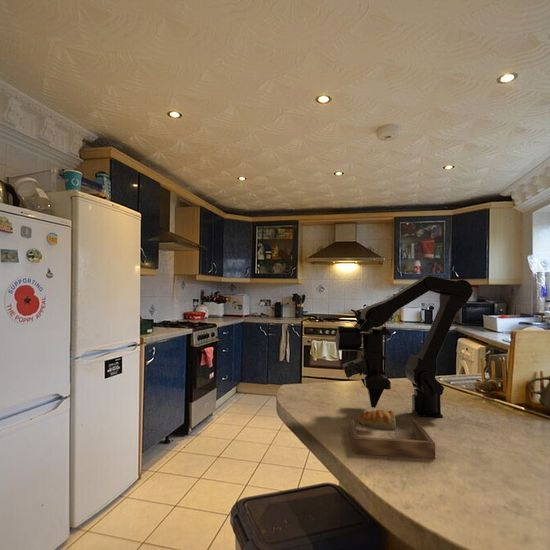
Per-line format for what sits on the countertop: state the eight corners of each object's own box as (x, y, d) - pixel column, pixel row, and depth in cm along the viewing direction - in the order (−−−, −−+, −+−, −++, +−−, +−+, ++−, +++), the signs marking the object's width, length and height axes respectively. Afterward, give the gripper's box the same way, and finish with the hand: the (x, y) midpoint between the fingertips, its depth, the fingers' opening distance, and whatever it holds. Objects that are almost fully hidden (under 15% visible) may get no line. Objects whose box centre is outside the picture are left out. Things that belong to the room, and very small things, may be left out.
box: (416, 432, 85) (416, 420, 85) (435, 458, 72) (435, 443, 72) (348, 429, 87) (348, 416, 87) (354, 453, 74) (354, 438, 74)
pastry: (358, 428, 88) (358, 412, 89) (357, 419, 95) (356, 404, 95) (397, 431, 87) (397, 415, 87) (393, 421, 93) (393, 406, 94)
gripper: (341, 345, 111) (341, 396, 110) (346, 355, 92) (346, 416, 91) (378, 346, 109) (379, 398, 109) (390, 356, 91) (391, 419, 90)
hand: (373, 407), depth 100 cm, fingers closed
